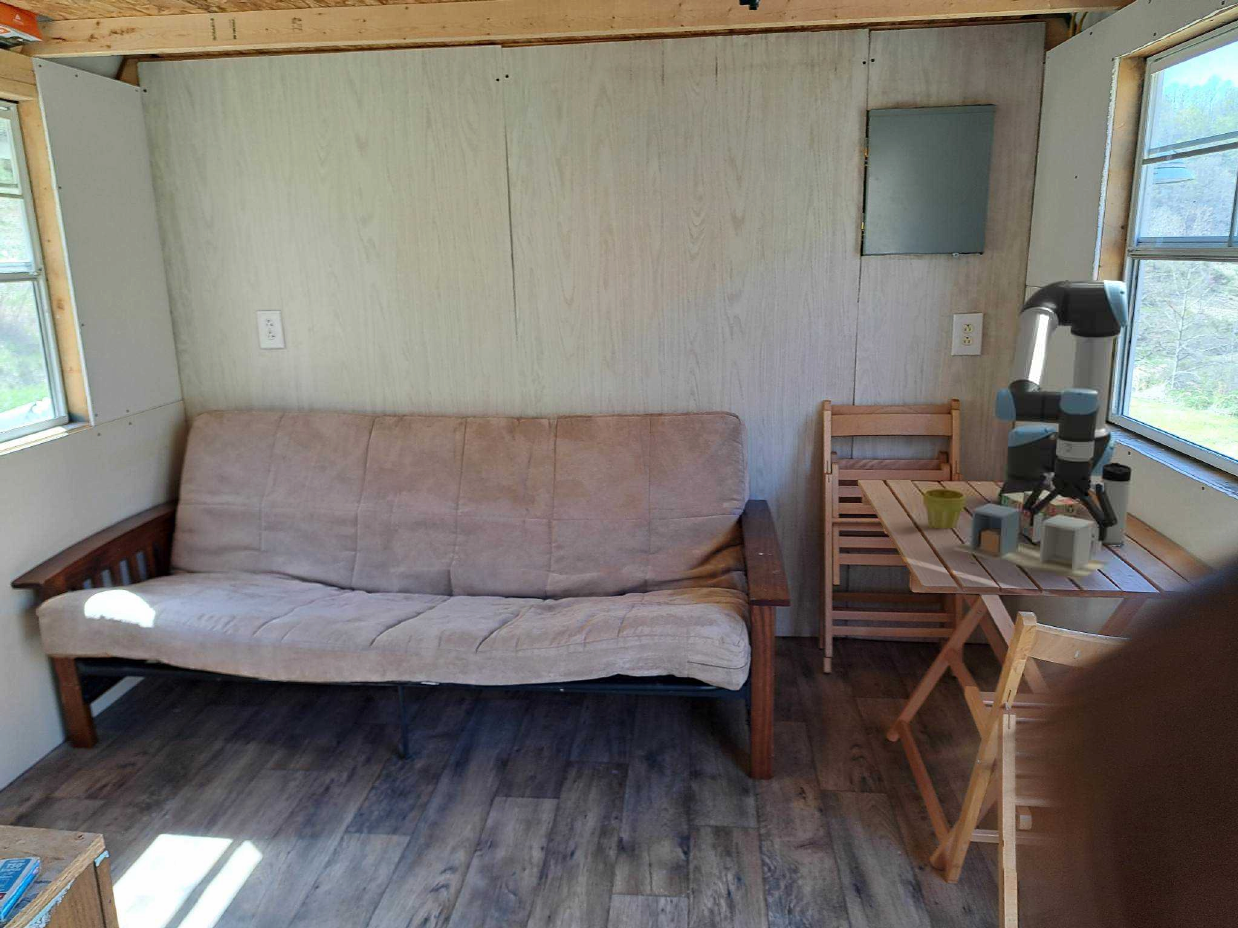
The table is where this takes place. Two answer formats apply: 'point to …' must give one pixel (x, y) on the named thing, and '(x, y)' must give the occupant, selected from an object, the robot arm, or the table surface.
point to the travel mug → (1117, 499)
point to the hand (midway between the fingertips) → (1065, 547)
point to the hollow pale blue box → (996, 526)
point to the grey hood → (1066, 540)
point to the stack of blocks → (1052, 509)
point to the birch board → (1037, 560)
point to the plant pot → (943, 507)
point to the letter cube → (991, 540)
